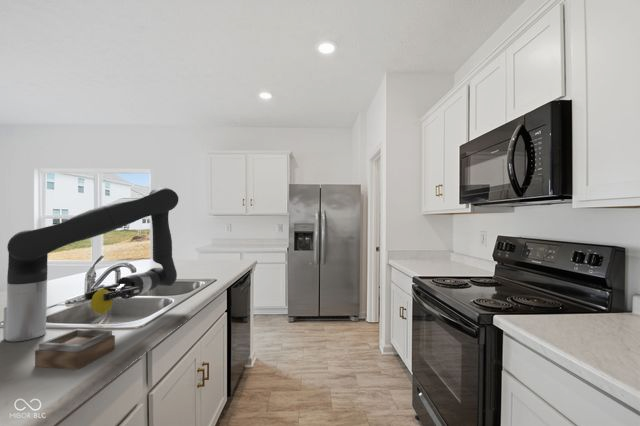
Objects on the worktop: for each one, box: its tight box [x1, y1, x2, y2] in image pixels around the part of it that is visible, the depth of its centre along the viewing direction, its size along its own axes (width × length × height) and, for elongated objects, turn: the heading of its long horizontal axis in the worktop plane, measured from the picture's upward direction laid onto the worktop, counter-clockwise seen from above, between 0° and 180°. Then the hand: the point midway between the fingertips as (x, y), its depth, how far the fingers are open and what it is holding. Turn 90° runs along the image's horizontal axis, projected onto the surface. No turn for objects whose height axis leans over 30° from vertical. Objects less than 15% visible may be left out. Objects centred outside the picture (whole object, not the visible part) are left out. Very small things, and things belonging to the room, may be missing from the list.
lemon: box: [90, 289, 114, 316], centre depth 97 cm, size 6×6×8 cm
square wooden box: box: [34, 328, 116, 370], centre depth 85 cm, size 12×12×6 cm
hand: (95, 297), depth 95 cm, fingers closed on lemon, 5 cm apart
